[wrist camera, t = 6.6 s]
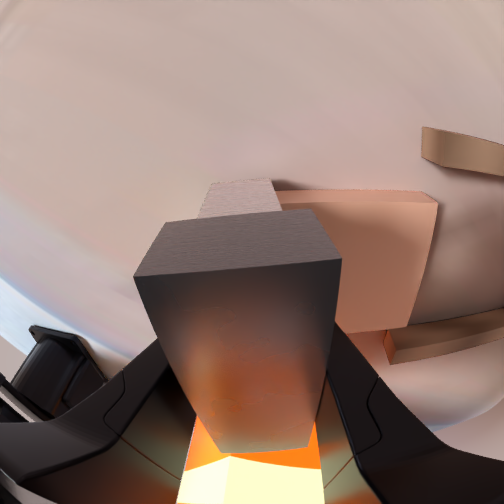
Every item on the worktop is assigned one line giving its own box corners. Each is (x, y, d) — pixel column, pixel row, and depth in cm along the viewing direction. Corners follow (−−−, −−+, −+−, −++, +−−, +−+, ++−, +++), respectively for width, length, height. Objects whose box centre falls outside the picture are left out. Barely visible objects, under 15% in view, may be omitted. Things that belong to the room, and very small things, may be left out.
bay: (383, 342, 13) (389, 365, 12) (422, 126, 8) (444, 131, 6) (508, 317, 12) (517, 332, 11) (555, 164, 6) (572, 173, 5)
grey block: (225, 336, 13) (220, 453, 7) (196, 177, 9) (133, 276, 4) (288, 331, 13) (307, 447, 7) (283, 168, 9) (342, 258, 4)
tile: (280, 309, 13) (279, 336, 11) (274, 188, 10) (274, 203, 9) (395, 302, 12) (406, 326, 11) (417, 188, 9) (438, 203, 8)
